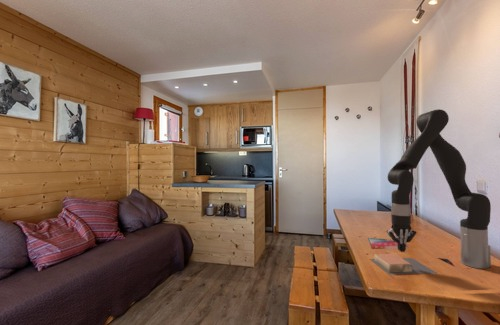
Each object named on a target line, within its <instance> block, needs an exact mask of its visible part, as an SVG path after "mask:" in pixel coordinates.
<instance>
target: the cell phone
mask: <svg viewBox="0 0 500 325" xmlns="http://www.w3.org/2000/svg"><path fill="white" fill-rule="evenodd" d="M437 259H438V260H441V261H442V262H444V263H446V264H448V265H450V266H452V267H454V263H452V262H451V261H450V260H449V259H447V258H440V257H439V258H438V257H437Z"/></svg>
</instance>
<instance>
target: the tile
mask: <svg viewBox="0 0 500 325" xmlns="http://www.w3.org/2000/svg"><path fill="white" fill-rule="evenodd" d="M402 258H403V257H401V256H399V255H397V254H396V253H380V254H379V253H376V254H373V259H374V261H375V262H377V263H378V264H379V265H380V266H382V267H383V268H384V269H386V270H387V271H388V272H412V264H410V263H409V262H407V261H405V260H404V259H402Z"/></svg>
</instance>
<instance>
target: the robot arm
mask: <svg viewBox="0 0 500 325" xmlns="http://www.w3.org/2000/svg"><path fill="white" fill-rule="evenodd" d="M449 119H450V118H449V115H448V113H447V112H446V111H445V110H444V109H440V108H439V109H434V110H430V111H426V112H424V113H421V114H420V115H418V116H417V117H416V126H417V129H418V131H419V132H420V134H419V136H418V137H417V138H415V140H414V141H412V142H411V144H409V145H408V146H407V148H406V149H405V151H404V153H403V154H402V156H401V158H400V160H398V161H397V162H396V163H395V164H394V166H392V167H391V169H390V170H389V171H388V174H387V180H388V182H389V183H390V184H392V185H396V186H397V189H395V190H392V191H391V207H390V209H391V210H390V213H391V215H390V216H391V218H390V219H391V221H390V222H391V227H390V229H389V230H386V232H385V233H386V234H387V235H388V236H389V237H390V239H391V240H393V241H395V242H397V243H398V248H397V250H398V251H399V252H401V253H405V252H406V250H407V248H406V245H407V243H411V241H412V240H413V239H414V237H415V236H416V234H417V233H418V232H417V231H416V230H414V229H412V226H411V225H412V214H411V213H412V209H411V202H410V200H411V197H410V195H411V191H412V189H413V185H414V175H413V173H412V172H411V170H415V169H416V168H417V166H418V165H419V163H420V161H421V160H422V158H423V156H424V155H425V153H426V151H427V149H429V148H430V150H431V152H432V154H433V156H434V158H435V160H436V162H437V164H438V166H439V168H440V170H441V172H442V174H443V175H444V178H445V180H446V182H447V184H448V187H449V189H450V192H451V195H452V199H453V200H454V203H455V205H456V206H457V208H459V210H461V211H464V212H467V217H466V218H462V219H460V221H459V227H460V228H459V229H460V231H459V232H460V261H461V264H463V265H465V266H468V267H471V268H475V269H483V270H485V269H488V268H491V267H492V265H491V264H492V263H491V262H492V259H491V258H492V257H491V255H492V254H491V245H490V244H489V229H488V227H489V225H490V223H491V209H492V208H491V201H490V199H489V197H488V196H487V195H485V194H484V193H483V194H482V193H478V192H472V191H471V190H470V188H469V186H468V185H467V184H468V183H467V182H466V173H467V164H466V161H465V160H464V157H463V156H462V154H461V152H460V150H459V149H457V148H456V147H455V146H453V144H451V143H449V142H448V141H447V140H446V139H444V137H443V136H442V135H441V132H442V131H443V130H444V129H445V128H446V126H447V124H448V123H449ZM394 234H395V235H394Z"/></svg>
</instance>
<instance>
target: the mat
mask: <svg viewBox="0 0 500 325" xmlns="http://www.w3.org/2000/svg"><path fill="white" fill-rule="evenodd" d="M401 258H402V259H404V260H405V261H407V262H409V263H410V264H412V272H388V271H387V270H386V269H384V268H383V267H382V266H380V265H379V264H378V263H377V262H375V261H374V258H369V261H371V262H372V263H373V264H374V265H376V266H377V267H379V269H381V270H382V271H383V272H385V273H386V274H387V275H393V276H394V275H420V274H421V275H422V274H424V275H425V274H427V275H428V274H438V272H436V271H435V270H434V269H432V268H430V267H429V266H427V265H425V264H423V263H421V262H419V261H417V260H416V259H414V258H412V257H401Z"/></svg>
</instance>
